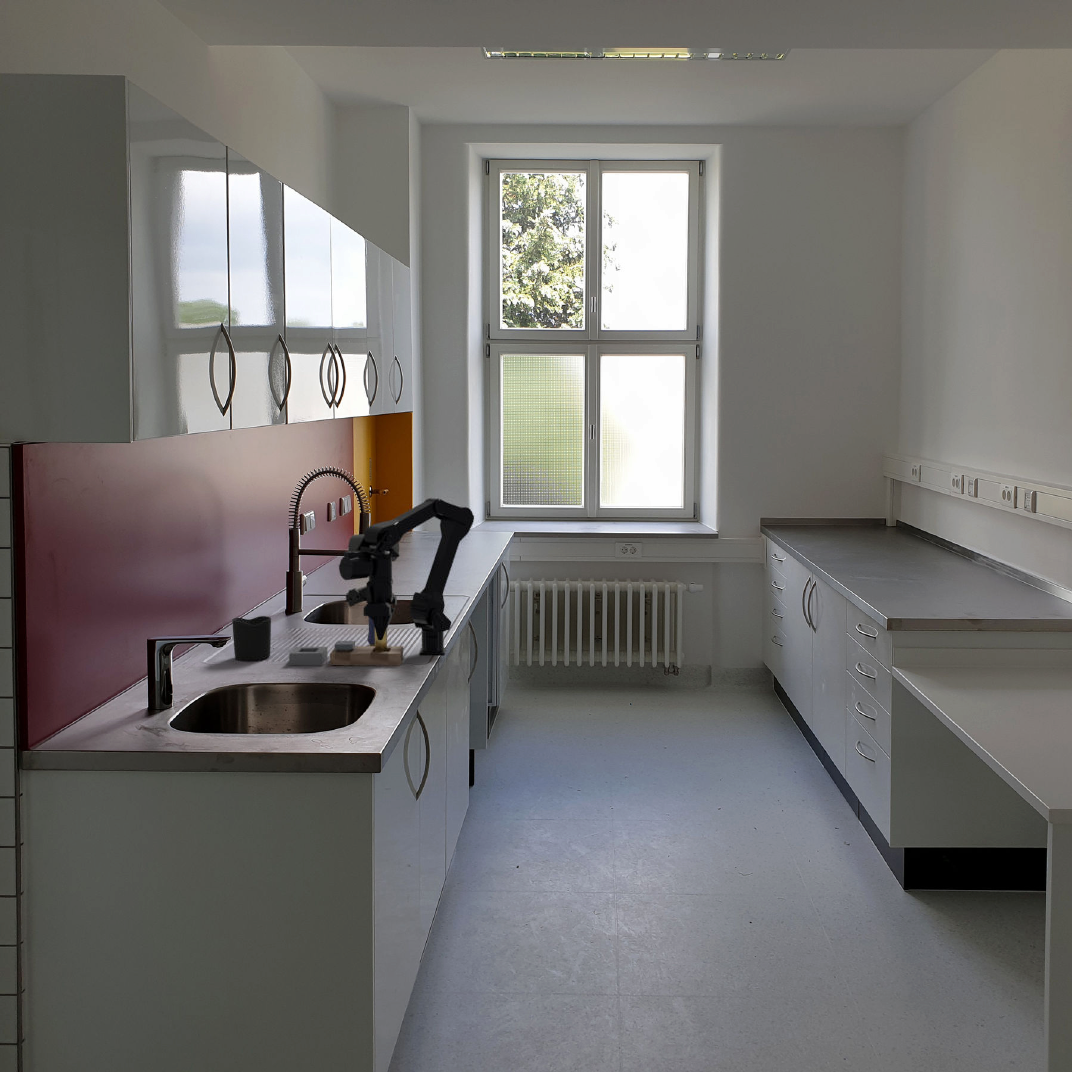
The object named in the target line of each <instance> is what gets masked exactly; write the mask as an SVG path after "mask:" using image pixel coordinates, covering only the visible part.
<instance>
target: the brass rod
mask: <svg viewBox="0 0 1072 1072" xmlns="http://www.w3.org/2000/svg"><path fill="white" fill-rule="evenodd" d="M387 646H388V628H386V631H385V634H384V637H383V640H378V638H377V634H376V630H375V652H387Z"/></svg>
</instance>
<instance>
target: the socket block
mask: <svg viewBox="0 0 1072 1072" xmlns="http://www.w3.org/2000/svg"><path fill="white" fill-rule="evenodd" d="M403 659H404V645H402V646H401V645H397V646H396V645H391V646H390V645H387V652H375V646H370V645H369V646H367V645H365V646H364V645H363V646H361V645H358V646H356V645H355V647H354V648H353V649H352V651H338V649H335V647H334V648H333V649H332V650H331V652H330V653H329V666H330V665H387V666H386V667H388V666H389V665H391V666H392V665H395V666H399V667H400V666H401V663H402V662H403ZM391 666H389V667H391ZM395 666H394V667H395ZM392 667H393V666H392Z"/></svg>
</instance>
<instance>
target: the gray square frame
mask: <svg viewBox="0 0 1072 1072" xmlns="http://www.w3.org/2000/svg"><path fill="white" fill-rule="evenodd" d="M328 651H329V650H328V646H295V647H294V648H293V649H292V650H291V651H290V652H289V653H288V660H289V661H288V662H289V663H288V664H289V665H303V666H323V665H324V664H325V663H326V661H328V659H329V658H328V655H329V654H328ZM324 662H325V663H324ZM323 663H324V664H323Z"/></svg>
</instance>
